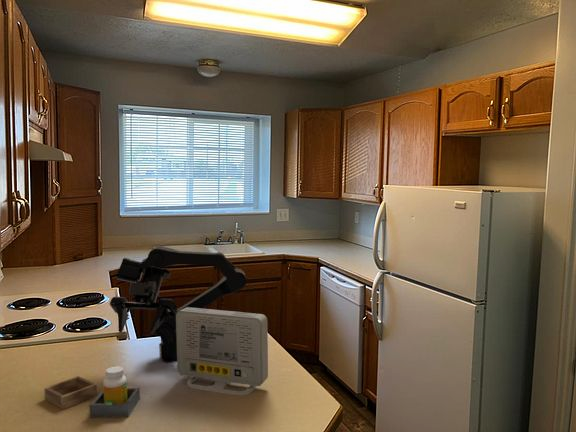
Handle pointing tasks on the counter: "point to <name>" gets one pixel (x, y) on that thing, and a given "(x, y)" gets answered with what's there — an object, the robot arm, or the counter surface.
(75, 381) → the holder sleeve
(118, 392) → the supplement bottle
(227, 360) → the network device
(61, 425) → the counter surface
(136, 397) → the dock collar
